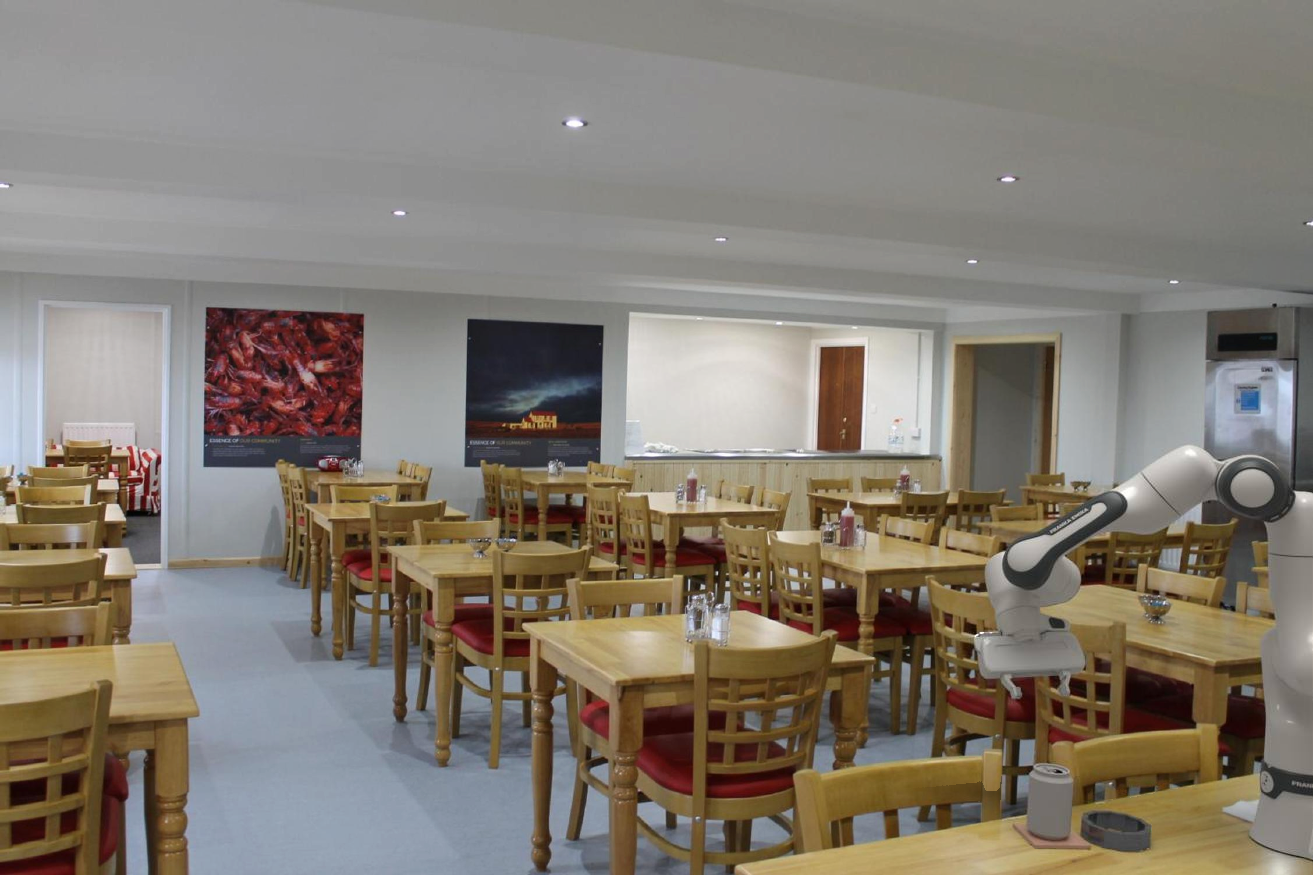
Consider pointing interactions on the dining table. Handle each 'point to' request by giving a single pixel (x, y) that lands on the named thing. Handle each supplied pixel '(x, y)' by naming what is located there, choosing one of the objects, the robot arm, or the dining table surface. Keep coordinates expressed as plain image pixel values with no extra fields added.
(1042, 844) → the tile
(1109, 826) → the ring
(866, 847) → the dining table surface
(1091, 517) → the robot arm
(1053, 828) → the can
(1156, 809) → the dining table surface
